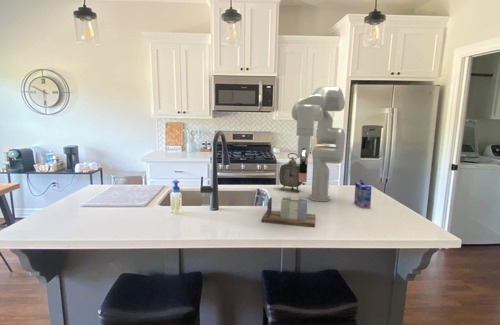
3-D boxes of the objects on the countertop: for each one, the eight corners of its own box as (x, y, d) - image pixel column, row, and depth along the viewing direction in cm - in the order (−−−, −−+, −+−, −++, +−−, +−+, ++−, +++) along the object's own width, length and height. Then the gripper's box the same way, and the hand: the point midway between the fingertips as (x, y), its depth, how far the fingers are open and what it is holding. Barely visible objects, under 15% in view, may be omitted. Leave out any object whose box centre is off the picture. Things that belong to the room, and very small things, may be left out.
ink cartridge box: (353, 202, 169) (355, 178, 167) (362, 202, 170) (364, 178, 167) (360, 208, 160) (362, 182, 157) (370, 208, 160) (372, 182, 158)
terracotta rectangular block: (299, 178, 140) (300, 153, 138) (306, 179, 139) (307, 153, 137) (298, 181, 133) (299, 155, 131) (306, 182, 132) (307, 155, 131)
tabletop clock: (278, 190, 194) (280, 152, 190) (283, 187, 202) (285, 151, 198) (299, 193, 188) (301, 154, 184) (304, 190, 195) (306, 152, 191)
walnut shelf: (266, 213, 149) (267, 193, 147) (315, 217, 144) (316, 197, 142) (261, 221, 136) (262, 201, 135) (314, 227, 131) (315, 205, 130)
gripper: (297, 131, 142) (295, 167, 145) (295, 133, 125) (293, 174, 128) (313, 131, 140) (311, 168, 143) (313, 133, 124) (311, 175, 126)
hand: (303, 171), depth 136 cm, fingers closed on terracotta rectangular block, 7 cm apart
